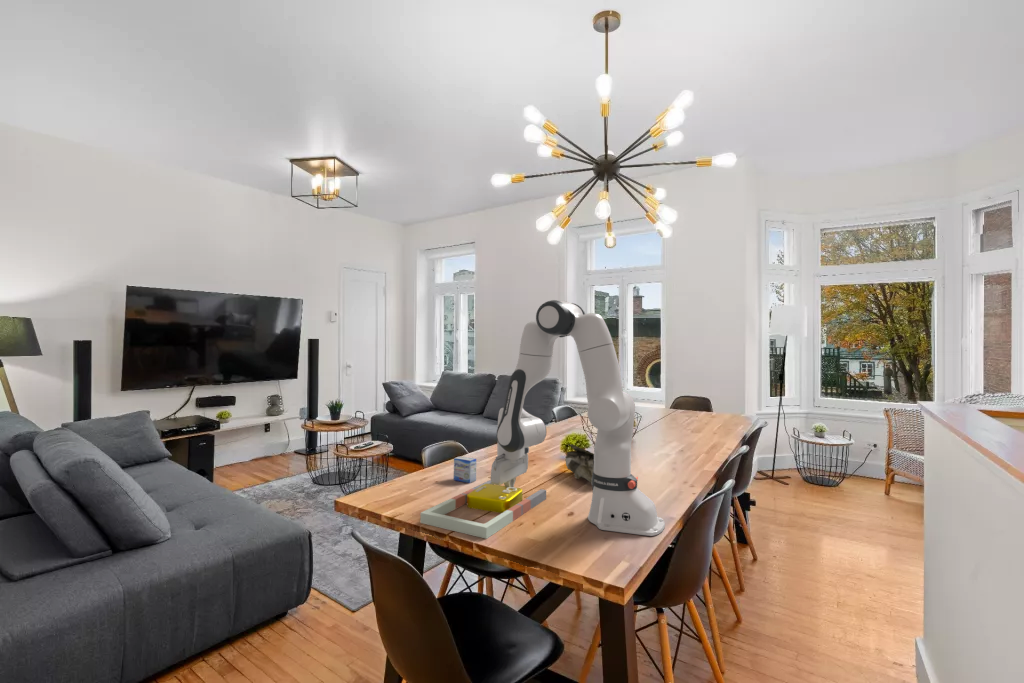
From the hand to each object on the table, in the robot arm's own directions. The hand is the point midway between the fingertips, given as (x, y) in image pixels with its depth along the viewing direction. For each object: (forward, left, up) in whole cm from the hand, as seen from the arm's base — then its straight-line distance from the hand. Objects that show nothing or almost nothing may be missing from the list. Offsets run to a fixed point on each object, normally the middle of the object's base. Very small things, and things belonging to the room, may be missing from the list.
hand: (509, 491), depth 167 cm
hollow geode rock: (-16, -37, -3) cm, 40 cm away
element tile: (+1, +8, -3) cm, 8 cm away
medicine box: (+25, -9, -2) cm, 27 cm away
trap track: (0, +14, -2) cm, 14 cm away
